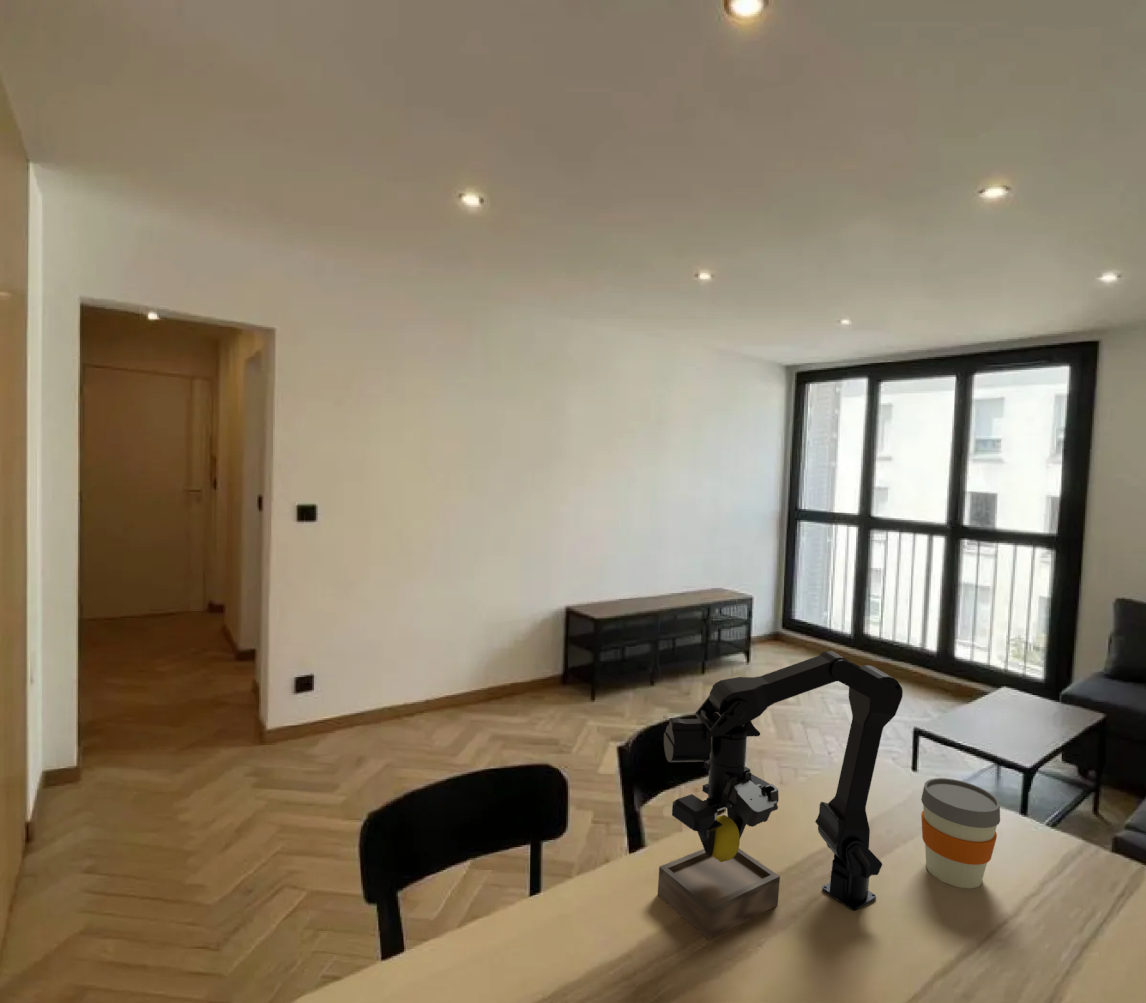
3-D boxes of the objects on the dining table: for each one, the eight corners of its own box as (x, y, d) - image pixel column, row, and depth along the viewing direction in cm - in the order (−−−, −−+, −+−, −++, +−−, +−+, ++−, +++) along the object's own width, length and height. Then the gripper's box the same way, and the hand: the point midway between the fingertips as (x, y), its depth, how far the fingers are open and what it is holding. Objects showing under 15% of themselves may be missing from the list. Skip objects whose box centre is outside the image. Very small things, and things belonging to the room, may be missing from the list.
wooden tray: (724, 866, 123) (726, 839, 123) (777, 904, 113) (779, 876, 113) (657, 894, 114) (659, 866, 114) (708, 939, 104) (710, 908, 104)
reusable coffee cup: (979, 904, 116) (987, 820, 115) (903, 868, 125) (911, 790, 124) (1003, 876, 124) (1011, 798, 123) (931, 844, 133) (938, 771, 132)
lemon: (738, 874, 110) (741, 827, 109) (704, 868, 111) (706, 822, 110) (737, 854, 115) (740, 809, 115) (704, 849, 116) (707, 804, 116)
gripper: (723, 795, 100) (717, 896, 101) (804, 766, 110) (797, 858, 112) (672, 764, 109) (667, 857, 110) (751, 740, 120) (746, 825, 121)
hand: (721, 849), depth 113 cm, fingers closed on lemon, 5 cm apart
